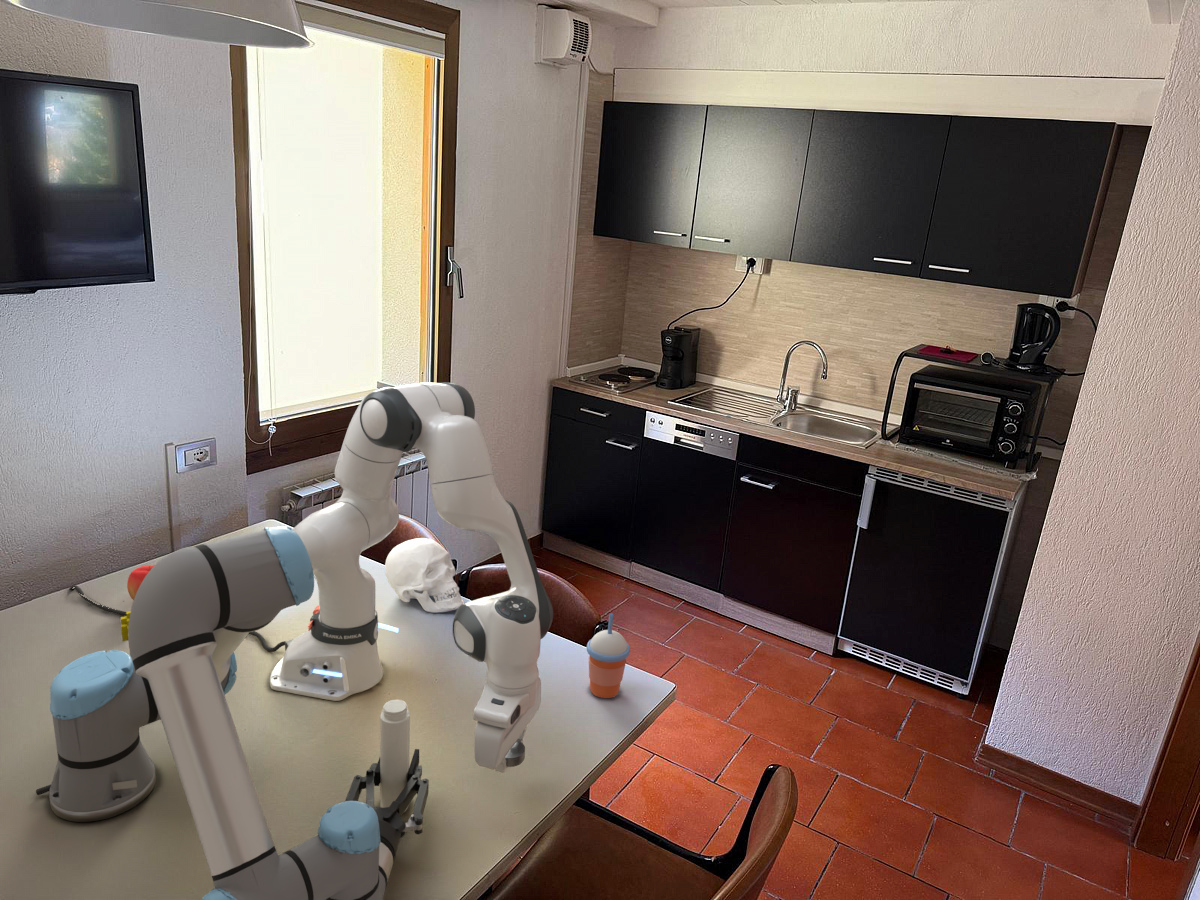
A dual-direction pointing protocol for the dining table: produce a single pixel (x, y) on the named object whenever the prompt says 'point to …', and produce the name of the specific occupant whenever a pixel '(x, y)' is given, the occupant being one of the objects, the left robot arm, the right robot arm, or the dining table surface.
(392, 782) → the white cylinder
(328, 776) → the dining table surface
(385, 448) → the right robot arm
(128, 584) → the apple
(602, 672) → the cup with straw
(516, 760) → the lid
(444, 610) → the skull
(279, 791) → the dining table surface
